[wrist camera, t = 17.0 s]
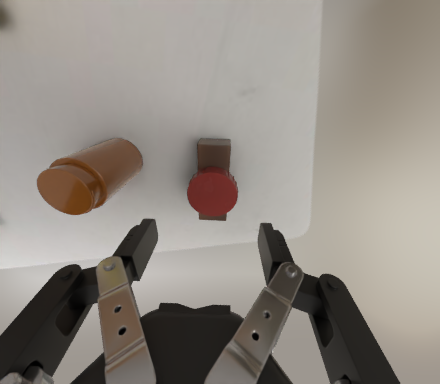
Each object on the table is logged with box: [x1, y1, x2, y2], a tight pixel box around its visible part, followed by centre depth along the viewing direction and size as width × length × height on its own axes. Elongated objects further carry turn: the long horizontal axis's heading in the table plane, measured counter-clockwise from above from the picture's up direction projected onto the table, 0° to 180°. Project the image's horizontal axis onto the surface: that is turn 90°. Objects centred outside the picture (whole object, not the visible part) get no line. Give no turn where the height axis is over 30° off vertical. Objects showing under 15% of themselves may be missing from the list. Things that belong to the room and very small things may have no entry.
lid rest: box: [197, 138, 231, 221], centre depth 23 cm, size 4×10×3 cm, turn 178°
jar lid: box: [187, 166, 238, 216], centre depth 21 cm, size 6×6×2 cm
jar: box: [37, 138, 143, 215], centre depth 19 cm, size 5×5×10 cm
